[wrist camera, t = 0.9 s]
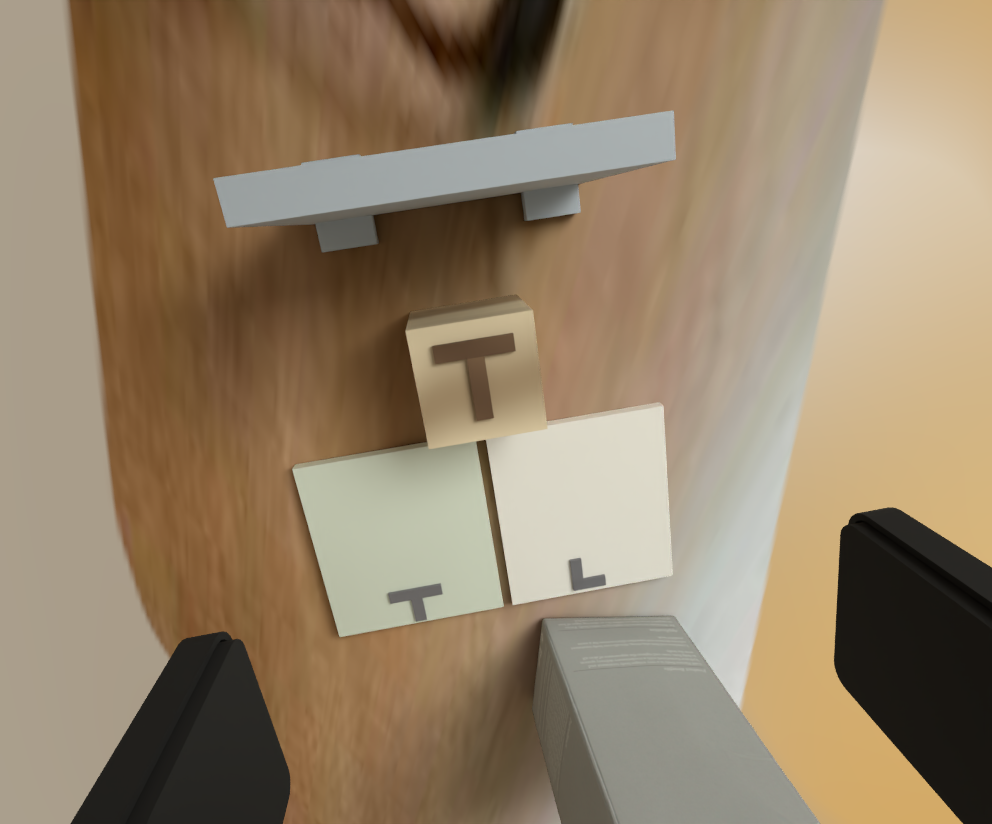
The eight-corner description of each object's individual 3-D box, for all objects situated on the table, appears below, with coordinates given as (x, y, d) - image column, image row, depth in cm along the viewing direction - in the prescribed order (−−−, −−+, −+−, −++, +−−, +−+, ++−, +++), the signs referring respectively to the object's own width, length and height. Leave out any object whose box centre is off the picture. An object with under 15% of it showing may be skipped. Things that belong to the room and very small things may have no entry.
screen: (298, 165, 25) (198, 126, 14) (575, 124, 25) (671, 58, 15) (318, 252, 26) (240, 274, 16) (583, 211, 27) (677, 206, 16)
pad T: (295, 464, 29) (291, 470, 28) (474, 433, 29) (475, 439, 29) (341, 629, 32) (339, 639, 31) (502, 600, 33) (504, 608, 32)
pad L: (484, 432, 29) (485, 437, 29) (658, 402, 30) (664, 406, 29) (511, 598, 33) (513, 607, 32) (668, 569, 33) (673, 577, 32)
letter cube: (410, 311, 27) (405, 331, 22) (516, 294, 28) (533, 310, 23) (430, 415, 29) (429, 456, 24) (529, 398, 29) (549, 435, 24)
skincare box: (529, 702, 35) (599, 1062, 20) (542, 600, 33) (631, 919, 18) (664, 701, 36) (827, 1044, 21) (686, 602, 34) (884, 906, 19)
